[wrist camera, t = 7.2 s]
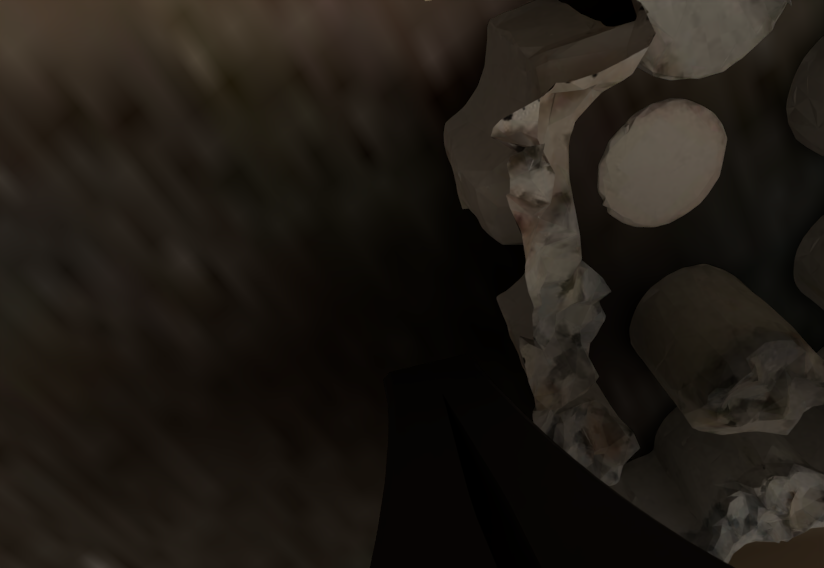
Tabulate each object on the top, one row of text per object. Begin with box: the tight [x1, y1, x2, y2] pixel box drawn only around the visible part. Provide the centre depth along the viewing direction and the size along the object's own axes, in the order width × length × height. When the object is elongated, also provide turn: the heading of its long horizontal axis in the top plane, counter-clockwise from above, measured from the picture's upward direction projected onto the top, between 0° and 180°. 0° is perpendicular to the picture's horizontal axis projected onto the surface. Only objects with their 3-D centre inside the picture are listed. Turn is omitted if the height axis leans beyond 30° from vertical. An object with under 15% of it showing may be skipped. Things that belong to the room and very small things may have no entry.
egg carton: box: [443, 0, 824, 563], centre depth 12 cm, size 11×8×4 cm
